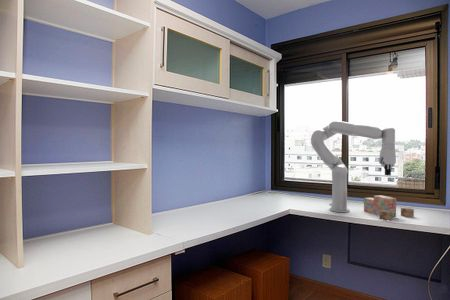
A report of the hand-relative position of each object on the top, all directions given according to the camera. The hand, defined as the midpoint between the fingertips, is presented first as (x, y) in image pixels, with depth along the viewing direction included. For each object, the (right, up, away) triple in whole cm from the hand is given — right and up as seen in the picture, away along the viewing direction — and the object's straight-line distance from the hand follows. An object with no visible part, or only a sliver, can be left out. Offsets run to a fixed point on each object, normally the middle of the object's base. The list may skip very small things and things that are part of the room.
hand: (387, 175), depth 192 cm
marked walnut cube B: (+10, -26, -4) cm, 28 cm away
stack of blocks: (-4, -26, +2) cm, 27 cm away
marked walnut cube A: (-8, -26, -12) cm, 30 cm away
